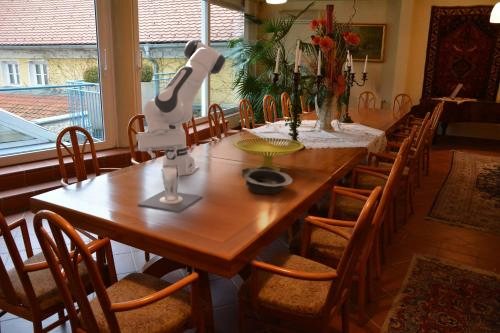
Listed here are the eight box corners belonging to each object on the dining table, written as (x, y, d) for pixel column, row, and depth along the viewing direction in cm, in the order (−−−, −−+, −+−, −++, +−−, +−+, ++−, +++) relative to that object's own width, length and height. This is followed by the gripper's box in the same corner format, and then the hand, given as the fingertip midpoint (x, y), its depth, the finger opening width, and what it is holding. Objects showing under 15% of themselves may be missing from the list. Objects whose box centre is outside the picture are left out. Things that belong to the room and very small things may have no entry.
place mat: (164, 191, 186) (164, 189, 186) (202, 197, 179) (202, 195, 179) (138, 205, 168) (138, 203, 168) (179, 212, 161) (179, 210, 161)
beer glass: (182, 197, 176) (181, 164, 172) (175, 202, 169) (174, 168, 166) (167, 195, 178) (166, 163, 174) (160, 201, 171) (159, 167, 167)
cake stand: (222, 175, 215) (222, 148, 211) (245, 158, 252) (245, 135, 248) (295, 183, 203) (297, 154, 199) (308, 164, 241) (309, 140, 237)
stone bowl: (238, 181, 203) (240, 164, 201) (286, 185, 205) (288, 168, 203) (240, 197, 179) (242, 177, 177) (295, 200, 181) (297, 181, 179)
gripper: (135, 128, 175) (141, 155, 169) (180, 125, 183) (187, 150, 177) (134, 136, 180) (140, 162, 174) (178, 133, 188) (185, 158, 182)
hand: (164, 156), depth 176 cm, fingers open, 8 cm apart
